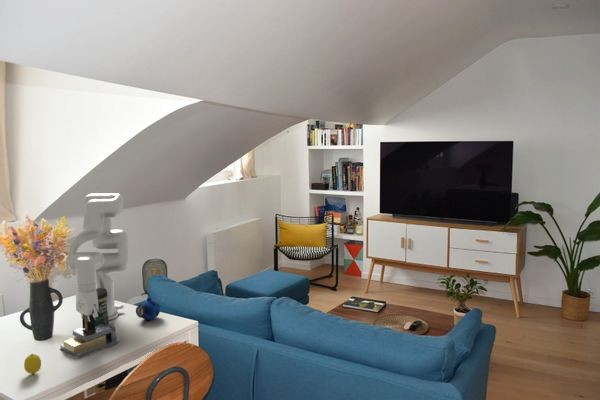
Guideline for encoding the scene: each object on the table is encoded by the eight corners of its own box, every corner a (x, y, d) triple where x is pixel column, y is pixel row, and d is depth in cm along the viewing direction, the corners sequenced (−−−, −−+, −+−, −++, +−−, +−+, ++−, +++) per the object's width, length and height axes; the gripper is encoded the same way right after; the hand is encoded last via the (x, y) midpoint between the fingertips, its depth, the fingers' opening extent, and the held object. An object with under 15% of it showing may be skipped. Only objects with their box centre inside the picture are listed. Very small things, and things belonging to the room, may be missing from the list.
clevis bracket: (100, 334, 220) (99, 319, 219) (118, 343, 212) (118, 327, 211) (60, 348, 206) (59, 332, 205) (78, 358, 198) (77, 341, 197)
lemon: (37, 369, 189) (36, 349, 188) (44, 373, 185) (43, 353, 184) (22, 374, 185) (20, 354, 183) (28, 379, 181) (27, 358, 180)
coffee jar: (96, 334, 221) (94, 294, 218) (83, 331, 224) (80, 291, 221) (112, 326, 230) (110, 287, 227) (99, 323, 233) (97, 285, 230)
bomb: (132, 320, 237) (131, 290, 234) (151, 314, 245) (150, 284, 243) (145, 325, 231) (144, 294, 229) (164, 318, 240) (163, 288, 238)
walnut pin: (90, 331, 210) (89, 310, 209) (94, 333, 209) (93, 312, 207) (84, 333, 208) (82, 313, 207) (87, 335, 206) (86, 314, 205)
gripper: (67, 284, 207) (70, 326, 210) (89, 292, 198) (91, 336, 200) (84, 280, 213) (87, 321, 216) (106, 288, 203) (108, 330, 206)
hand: (89, 328), depth 208 cm, fingers closed on walnut pin, 3 cm apart
